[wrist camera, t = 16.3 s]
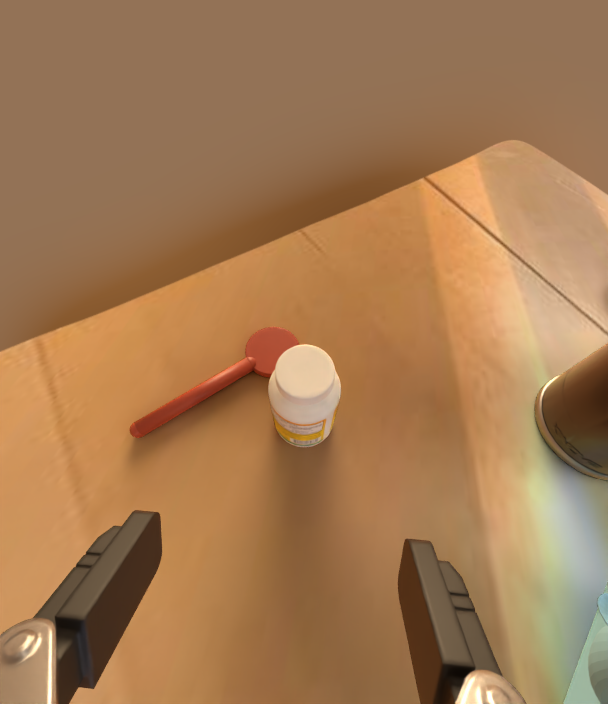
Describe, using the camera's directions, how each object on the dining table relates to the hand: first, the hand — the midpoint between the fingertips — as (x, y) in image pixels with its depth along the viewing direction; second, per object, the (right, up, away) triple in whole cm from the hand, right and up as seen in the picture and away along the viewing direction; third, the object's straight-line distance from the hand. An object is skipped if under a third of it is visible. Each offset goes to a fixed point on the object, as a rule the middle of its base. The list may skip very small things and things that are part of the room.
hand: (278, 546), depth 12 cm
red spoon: (-7, +3, +22) cm, 23 cm away
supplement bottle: (+1, 0, +20) cm, 20 cm away
